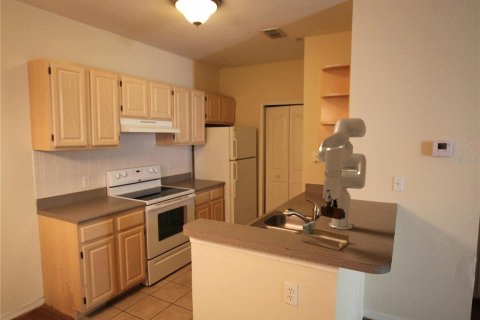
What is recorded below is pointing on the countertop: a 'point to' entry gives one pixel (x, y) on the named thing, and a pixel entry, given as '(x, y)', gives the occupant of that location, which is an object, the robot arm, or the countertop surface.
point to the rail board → (323, 237)
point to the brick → (337, 213)
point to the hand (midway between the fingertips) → (331, 213)
